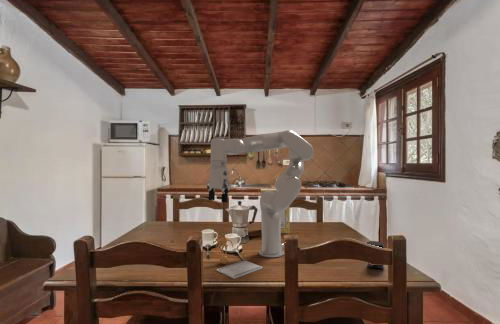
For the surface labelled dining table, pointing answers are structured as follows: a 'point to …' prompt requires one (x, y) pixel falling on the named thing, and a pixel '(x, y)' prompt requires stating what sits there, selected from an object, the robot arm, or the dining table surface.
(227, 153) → the robot arm
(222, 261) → the figurine
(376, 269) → the supplement container
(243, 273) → the mat
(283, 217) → the pasta box
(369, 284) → the dining table surface
